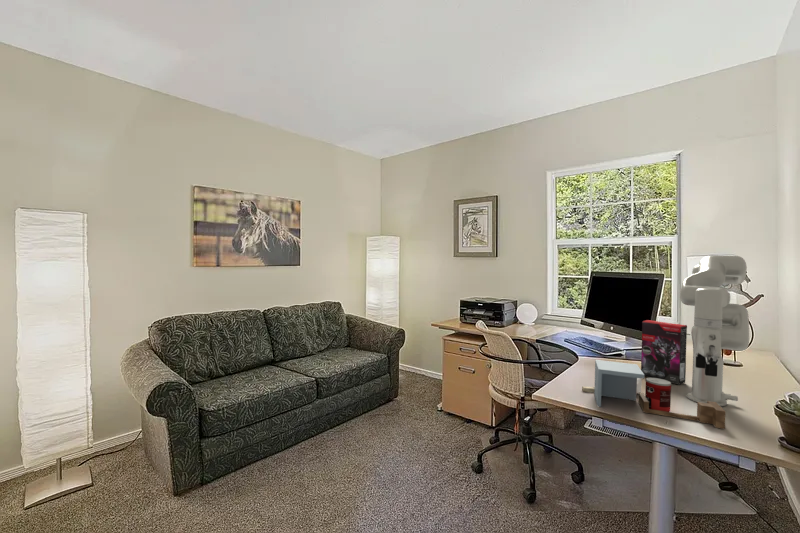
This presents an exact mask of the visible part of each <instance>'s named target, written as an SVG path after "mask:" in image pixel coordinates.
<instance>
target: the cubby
mask: <svg viewBox="0 0 800 533" xmlns="http://www.w3.org/2000/svg"><path fill="white" fill-rule="evenodd" d="M594 363H595V366H594V386H593V387H594V392H593V393H594V398H595V402H596V407H599V408H601V407H602V397H610V398H616V399H622V400H628V399H629V400H630V401H635V402H636V401H637V394H638V393H637V378H642V380H643V379H645V376H644V373H643V372H642V371H641V367H639V365H638V364H637V363H628V362H627V363H626V362H620V361H619V362H618V361H610V360H609V361H608V360H602V359H595V361H594Z"/></svg>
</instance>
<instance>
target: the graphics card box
mask: <svg viewBox="0 0 800 533" xmlns="http://www.w3.org/2000/svg"><path fill="white" fill-rule="evenodd" d="M687 335H688V326H687V324H679V323H671V322H665V321H658V320H649V319H646V320H643V321H642V322H641V358H640V361H641V362H640V369H641V371H642V372H643V373H644V377H647V378H659V379H663V380H667V381H669V382H671V384H675V385H682V384H685V383H686V376H687V375H686V374H687V373H686V370H687V369H686V368H687V366H686V365H687V338H688V336H687Z"/></svg>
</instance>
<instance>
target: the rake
mask: <svg viewBox="0 0 800 533" xmlns="http://www.w3.org/2000/svg"><path fill="white" fill-rule="evenodd" d="M637 399H638V400H637V401H638V402H637V403H638V404H639V406H640V408H641V410H642V412H643V413H646V414H652V415H653V414H654V415H659V416H666V417H670V418H671V417H673V418H677V419H685V420H691V421H698V422H699V423H702V424H708V425H713V426H714V428H717V429H722V430H725V429H726V412H727V411H726V410H724V408H722V406H719V405H718V404H717V403H716V402H711V401H707V403H702V402H696V403H697V404H696V405H697V408H696V409H697V411H696V415H692V414H690V415H689V414H686V413H685V414H684V413H679V412H673V411H672V412H671V411H670V412H666V411H659V410H653V409H649V402H648V400H647V398H646V397H645V394H644V392H642V391H641V392H639V393H638V398H637Z"/></svg>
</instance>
